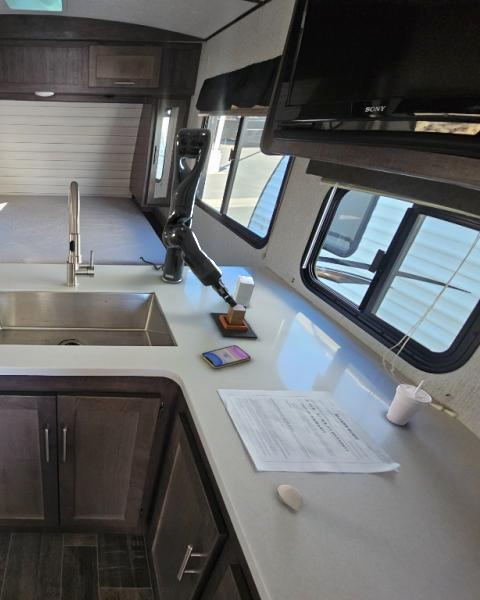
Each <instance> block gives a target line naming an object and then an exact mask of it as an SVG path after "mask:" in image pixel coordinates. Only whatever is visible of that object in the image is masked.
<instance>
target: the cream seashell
mask: <svg viewBox="0 0 480 600" xmlns="http://www.w3.org/2000/svg"><path fill="white" fill-rule="evenodd" d="M276 492H277V495H278V498H279V499H280V500H281V501H282V502H283V503H285V504H286V505H287V506H288V507H290V508H292V509H294V510H295V511H297V512H299V511H300V509H301V506H302V500H303V499H302V494H301V492H300V491H299V489H298V488H296V487H295V486H293V485H290V484H281V485H279V486H278V488H277V490H276Z"/></svg>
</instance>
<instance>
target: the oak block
mask: <svg viewBox="0 0 480 600" xmlns="http://www.w3.org/2000/svg"><path fill="white" fill-rule="evenodd" d="M246 312H247V310H246V308H245V306H242V305H236V306H235V307H233V308H232V307H231V306H230V305H229V306H228V309H227V312H226V313H227V316H226V320H225V321H226V323H227V324H228V325H232V326H242V323H243V319H245V316H246Z"/></svg>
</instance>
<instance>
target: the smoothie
mask: <svg viewBox="0 0 480 600" xmlns="http://www.w3.org/2000/svg"><path fill="white" fill-rule="evenodd" d="M426 382H427V381H426V380H425V379H422V380H421V382H419V384H418V386H415V385H412V384H408V383H400V384H399V385H397V387H396V389H395V390H396V392H395V395H394V397H393V399H392V402H391V404H390V407H389V409H388V411H387V414H386V418H387V420H388V421H390V422H391V423H393V424H395V425H397V426H405V425H407V424H408V422H409V421H410V420H412V419H413V418H414V417H415V416H416V415H417V414H418V413H420V411H421V410H422V409H424V408H425V407H426V406H429V405H431V403H432V402H433V397H432V396H431V395H430V394H429V393H428V392H427V391H425V390H423V389H421V388H422V387H423V386H424V385H425V384H426Z"/></svg>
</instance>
